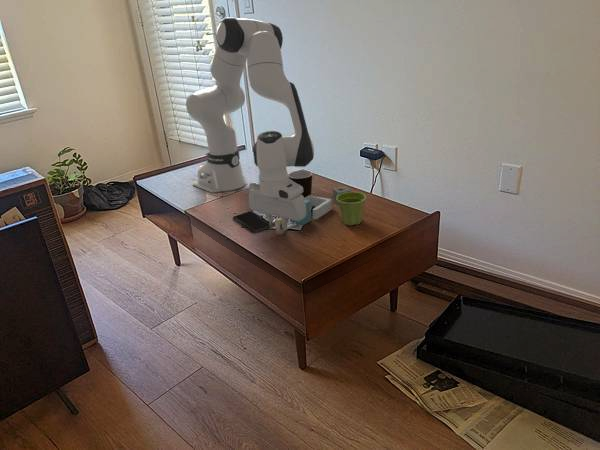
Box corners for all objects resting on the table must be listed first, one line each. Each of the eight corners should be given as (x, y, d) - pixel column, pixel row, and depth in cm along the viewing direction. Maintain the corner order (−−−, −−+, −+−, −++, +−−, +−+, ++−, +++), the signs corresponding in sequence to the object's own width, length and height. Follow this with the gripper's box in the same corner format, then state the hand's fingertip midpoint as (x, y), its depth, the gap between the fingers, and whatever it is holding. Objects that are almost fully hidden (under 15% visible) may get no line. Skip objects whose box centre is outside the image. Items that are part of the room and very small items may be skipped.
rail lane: (293, 214, 166) (292, 204, 165) (310, 204, 174) (309, 194, 172) (316, 219, 161) (315, 209, 160) (332, 208, 168) (332, 199, 167)
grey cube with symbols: (333, 201, 174) (332, 188, 172) (345, 198, 176) (345, 185, 174) (339, 206, 170) (338, 193, 168) (351, 203, 172) (351, 190, 170)
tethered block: (271, 232, 155) (269, 212, 152) (299, 217, 164) (298, 197, 161) (283, 236, 152) (281, 215, 149) (311, 220, 161) (309, 200, 158)
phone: (253, 231, 155) (231, 217, 166) (253, 234, 155) (232, 220, 167) (274, 224, 159) (251, 210, 170) (274, 227, 159) (252, 213, 170)
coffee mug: (311, 205, 173) (310, 178, 168) (288, 204, 174) (285, 178, 170) (317, 192, 183) (315, 167, 179) (294, 192, 185) (292, 167, 180)
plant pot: (358, 230, 152) (358, 204, 148) (332, 225, 157) (331, 200, 153) (371, 218, 159) (371, 194, 155) (345, 214, 164) (344, 190, 160)
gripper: (241, 184, 150) (247, 224, 156) (295, 195, 139) (298, 238, 145) (255, 178, 155) (259, 217, 161) (307, 188, 144) (310, 230, 149)
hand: (278, 227), depth 153 cm, fingers closed on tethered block, 3 cm apart
